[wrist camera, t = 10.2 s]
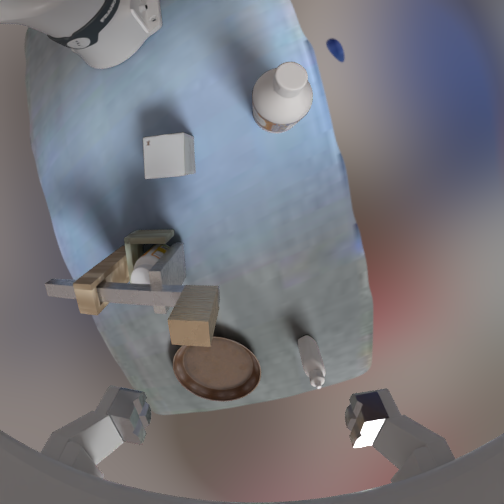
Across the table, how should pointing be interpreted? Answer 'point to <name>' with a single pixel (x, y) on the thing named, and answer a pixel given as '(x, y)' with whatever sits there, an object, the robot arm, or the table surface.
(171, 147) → the product box
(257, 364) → the plant saucer
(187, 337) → the rod with square block
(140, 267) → the supplement bottle
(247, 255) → the table surface
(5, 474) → the robot arm
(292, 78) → the bath foam
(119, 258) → the frame
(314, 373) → the eye dropper bottle
